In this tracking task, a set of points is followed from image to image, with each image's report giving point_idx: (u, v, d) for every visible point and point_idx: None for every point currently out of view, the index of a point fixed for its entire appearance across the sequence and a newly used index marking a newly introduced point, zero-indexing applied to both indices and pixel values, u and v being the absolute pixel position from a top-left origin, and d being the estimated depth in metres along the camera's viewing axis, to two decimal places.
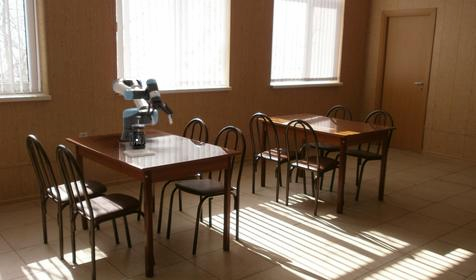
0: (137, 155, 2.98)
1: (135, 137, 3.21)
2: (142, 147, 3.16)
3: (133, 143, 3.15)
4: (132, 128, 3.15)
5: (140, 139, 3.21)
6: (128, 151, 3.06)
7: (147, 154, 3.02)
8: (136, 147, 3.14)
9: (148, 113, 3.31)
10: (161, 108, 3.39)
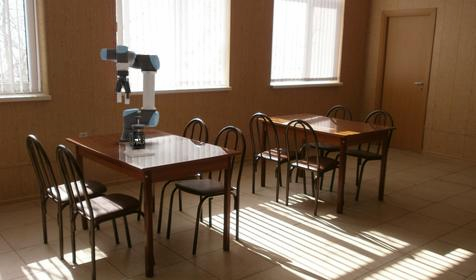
0: (137, 155, 2.98)
1: (135, 137, 3.21)
2: (142, 147, 3.16)
3: (133, 143, 3.15)
4: (132, 128, 3.15)
5: (140, 139, 3.21)
6: (128, 151, 3.06)
7: (147, 154, 3.02)
8: (136, 147, 3.14)
9: (116, 89, 3.06)
10: None
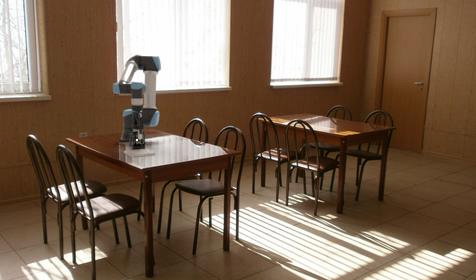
0: (137, 155, 2.98)
1: (135, 137, 3.21)
2: (142, 147, 3.16)
3: (133, 143, 3.15)
4: (132, 128, 3.15)
5: (140, 139, 3.21)
6: (128, 151, 3.06)
7: (147, 154, 3.02)
8: (136, 147, 3.14)
9: (132, 123, 3.21)
10: None
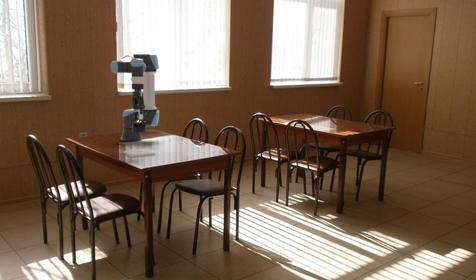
0: (137, 155, 2.98)
1: (135, 118, 3.05)
2: (143, 128, 3.00)
3: (133, 124, 2.99)
4: (132, 108, 2.99)
5: (141, 120, 3.06)
6: (128, 151, 3.06)
7: (147, 154, 3.02)
8: (137, 128, 2.99)
9: (132, 104, 3.05)
10: (138, 97, 2.98)
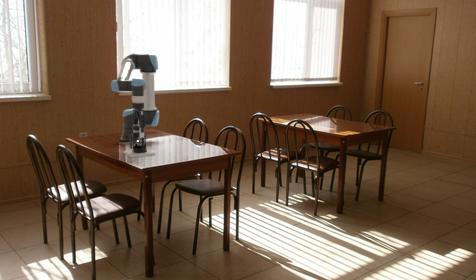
0: (137, 155, 2.98)
1: (136, 138, 3.07)
2: (143, 149, 3.02)
3: (133, 145, 3.02)
4: None
5: (141, 140, 3.08)
6: (128, 151, 3.06)
7: (147, 154, 3.02)
8: (137, 149, 3.01)
9: (132, 121, 3.08)
10: None
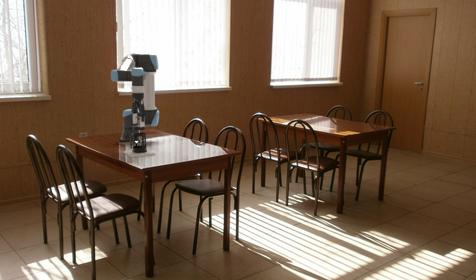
0: (137, 155, 2.98)
1: (136, 138, 3.08)
2: (143, 149, 3.03)
3: (134, 145, 3.02)
4: None
5: None
6: (128, 151, 3.06)
7: (147, 154, 3.02)
8: (137, 149, 3.01)
9: (131, 110, 3.08)
10: None
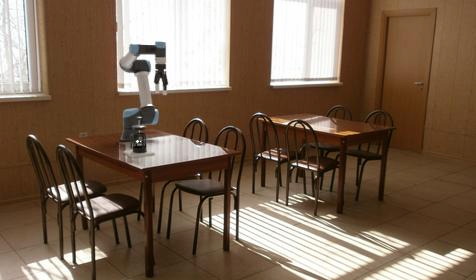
0: (137, 155, 2.98)
1: (136, 138, 3.08)
2: (143, 149, 3.03)
3: (134, 145, 3.02)
4: (133, 129, 3.02)
5: (141, 141, 3.08)
6: (128, 151, 3.06)
7: (147, 154, 3.02)
8: (137, 149, 3.01)
9: (154, 81, 3.33)
10: None
